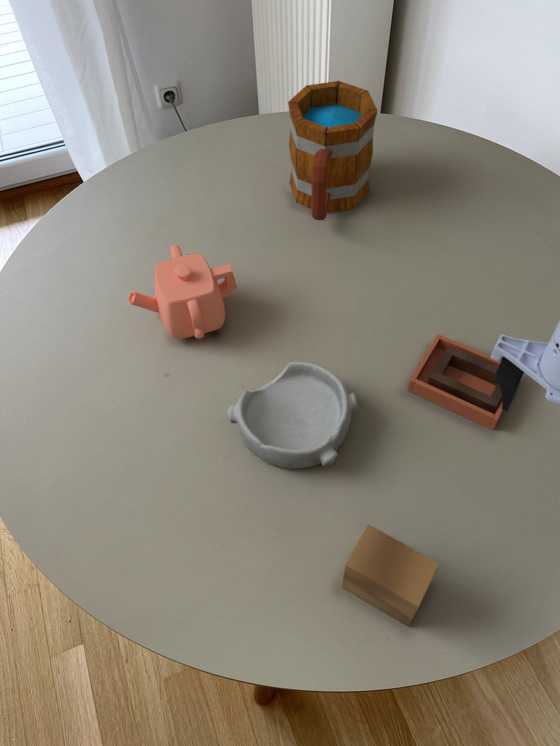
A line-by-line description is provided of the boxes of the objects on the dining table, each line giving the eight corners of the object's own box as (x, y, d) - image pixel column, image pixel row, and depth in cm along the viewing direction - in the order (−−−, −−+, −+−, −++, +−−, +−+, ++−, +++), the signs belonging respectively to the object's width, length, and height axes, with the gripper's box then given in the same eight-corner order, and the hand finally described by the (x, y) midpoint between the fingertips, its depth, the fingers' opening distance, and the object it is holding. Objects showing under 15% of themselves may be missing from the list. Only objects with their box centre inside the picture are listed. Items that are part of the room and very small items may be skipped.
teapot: (134, 331, 93) (118, 284, 85) (182, 277, 98) (171, 229, 90) (201, 363, 89) (191, 317, 81) (247, 305, 95) (242, 257, 87)
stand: (427, 586, 71) (439, 563, 65) (408, 627, 68) (418, 607, 62) (362, 549, 73) (368, 523, 67) (341, 587, 71) (345, 564, 65)
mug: (296, 158, 114) (296, 77, 102) (373, 165, 112) (382, 84, 100) (274, 235, 103) (270, 154, 91) (359, 244, 101) (367, 164, 89)
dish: (218, 438, 82) (214, 417, 78) (281, 364, 88) (280, 341, 84) (314, 498, 77) (315, 479, 73) (373, 415, 83) (377, 394, 79)
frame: (508, 383, 85) (513, 372, 83) (492, 417, 82) (496, 407, 80) (444, 355, 88) (447, 344, 86) (426, 387, 85) (429, 376, 83)
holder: (517, 380, 86) (522, 369, 84) (493, 430, 82) (498, 420, 80) (434, 344, 90) (437, 333, 88) (407, 390, 85) (409, 379, 83)
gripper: (494, 340, 60) (464, 416, 71) (657, 407, 55) (598, 478, 66) (520, 290, 63) (488, 371, 74) (676, 350, 59) (617, 427, 70)
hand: (541, 419), depth 71 cm, fingers open, 7 cm apart
